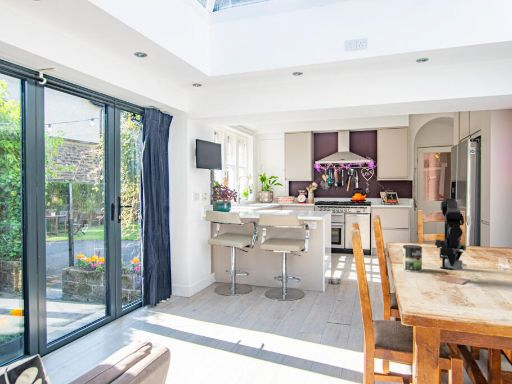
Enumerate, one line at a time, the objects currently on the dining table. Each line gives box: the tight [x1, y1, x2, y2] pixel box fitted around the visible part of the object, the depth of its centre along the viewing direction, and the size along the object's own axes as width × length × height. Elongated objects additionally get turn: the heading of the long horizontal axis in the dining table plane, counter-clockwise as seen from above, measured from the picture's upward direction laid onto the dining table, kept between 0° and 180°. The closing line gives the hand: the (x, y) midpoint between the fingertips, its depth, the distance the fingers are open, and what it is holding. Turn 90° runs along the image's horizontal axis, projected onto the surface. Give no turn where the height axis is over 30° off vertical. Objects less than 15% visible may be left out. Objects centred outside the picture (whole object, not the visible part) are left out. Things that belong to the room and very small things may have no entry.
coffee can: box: [402, 244, 423, 273], centre depth 214 cm, size 10×10×14 cm
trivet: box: [436, 274, 471, 285], centre depth 191 cm, size 12×12×1 cm
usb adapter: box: [445, 259, 467, 270], centre depth 190 cm, size 10×4×4 cm, turn 42°
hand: (453, 265), depth 191 cm, fingers closed on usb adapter, 4 cm apart
